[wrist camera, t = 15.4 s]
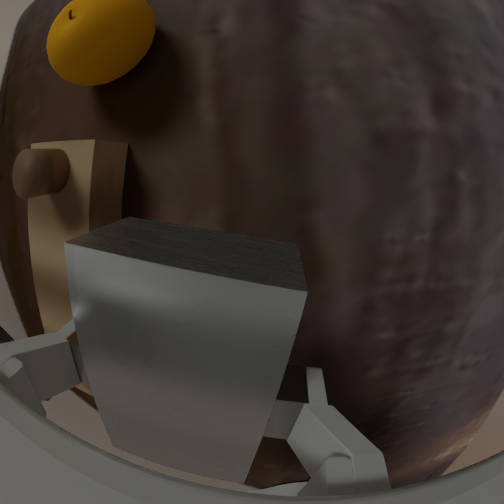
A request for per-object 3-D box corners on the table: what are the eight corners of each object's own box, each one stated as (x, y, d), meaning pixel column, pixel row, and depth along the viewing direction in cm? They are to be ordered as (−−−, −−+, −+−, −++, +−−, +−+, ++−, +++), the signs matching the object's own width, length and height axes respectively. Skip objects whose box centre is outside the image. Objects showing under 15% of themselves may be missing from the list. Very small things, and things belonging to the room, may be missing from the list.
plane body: (130, 380, 23) (96, 431, 16) (78, 357, 24) (40, 398, 16) (128, 143, 17) (52, 136, 9) (64, 144, 17) (-6, 144, 10)
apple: (75, 61, 15) (16, 41, 8) (140, -1, 13) (96, -42, 6) (109, 113, 16) (38, 98, 9) (188, 42, 14) (142, -11, 7)
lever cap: (251, 426, 10) (243, 483, 7) (140, 398, 10) (113, 446, 7) (297, 245, 7) (307, 291, 4) (129, 216, 8) (64, 242, 5)
